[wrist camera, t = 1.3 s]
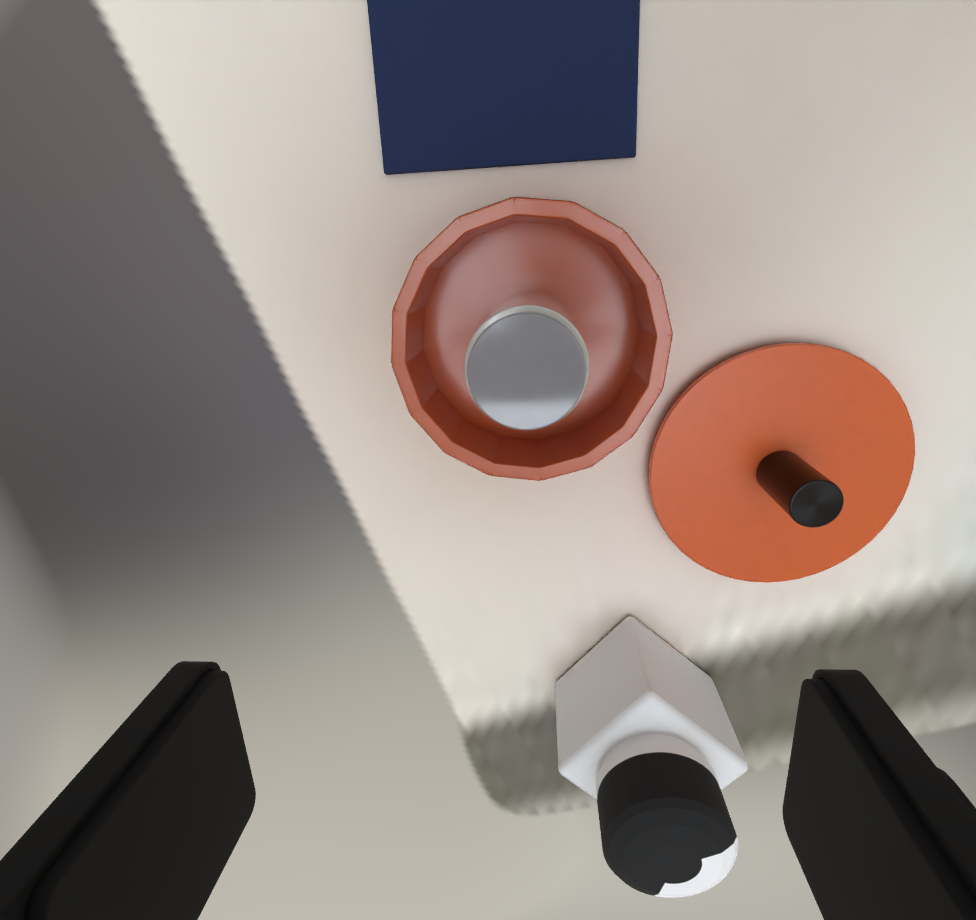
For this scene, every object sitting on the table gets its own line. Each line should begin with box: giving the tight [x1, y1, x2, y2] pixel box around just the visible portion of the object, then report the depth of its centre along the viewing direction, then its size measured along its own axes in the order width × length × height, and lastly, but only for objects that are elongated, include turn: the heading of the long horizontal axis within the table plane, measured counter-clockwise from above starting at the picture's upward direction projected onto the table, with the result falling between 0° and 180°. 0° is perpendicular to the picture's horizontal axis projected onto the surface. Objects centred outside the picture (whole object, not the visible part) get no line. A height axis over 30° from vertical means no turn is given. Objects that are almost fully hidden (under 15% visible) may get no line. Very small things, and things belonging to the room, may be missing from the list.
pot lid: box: [649, 343, 915, 582], centre depth 29 cm, size 13×13×6 cm
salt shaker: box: [464, 291, 590, 430], centre depth 25 cm, size 5×5×10 cm
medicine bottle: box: [555, 616, 748, 898], centre depth 31 cm, size 7×7×12 cm
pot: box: [391, 197, 673, 481], centre depth 28 cm, size 12×12×5 cm
